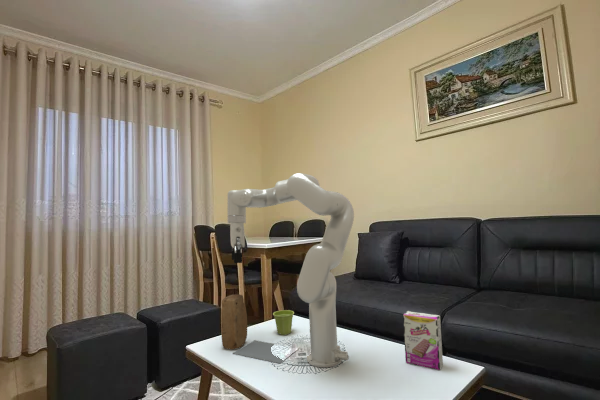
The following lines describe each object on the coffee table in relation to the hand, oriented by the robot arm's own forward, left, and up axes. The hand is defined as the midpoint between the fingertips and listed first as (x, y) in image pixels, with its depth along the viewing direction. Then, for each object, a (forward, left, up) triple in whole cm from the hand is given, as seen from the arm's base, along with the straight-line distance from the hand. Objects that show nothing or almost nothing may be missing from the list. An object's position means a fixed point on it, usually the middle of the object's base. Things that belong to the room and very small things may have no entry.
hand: (236, 261), depth 134 cm
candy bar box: (-70, -11, -34) cm, 78 cm away
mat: (-14, +1, -34) cm, 37 cm away
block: (+1, +1, -34) cm, 34 cm away
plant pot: (-10, -19, -34) cm, 40 cm away
